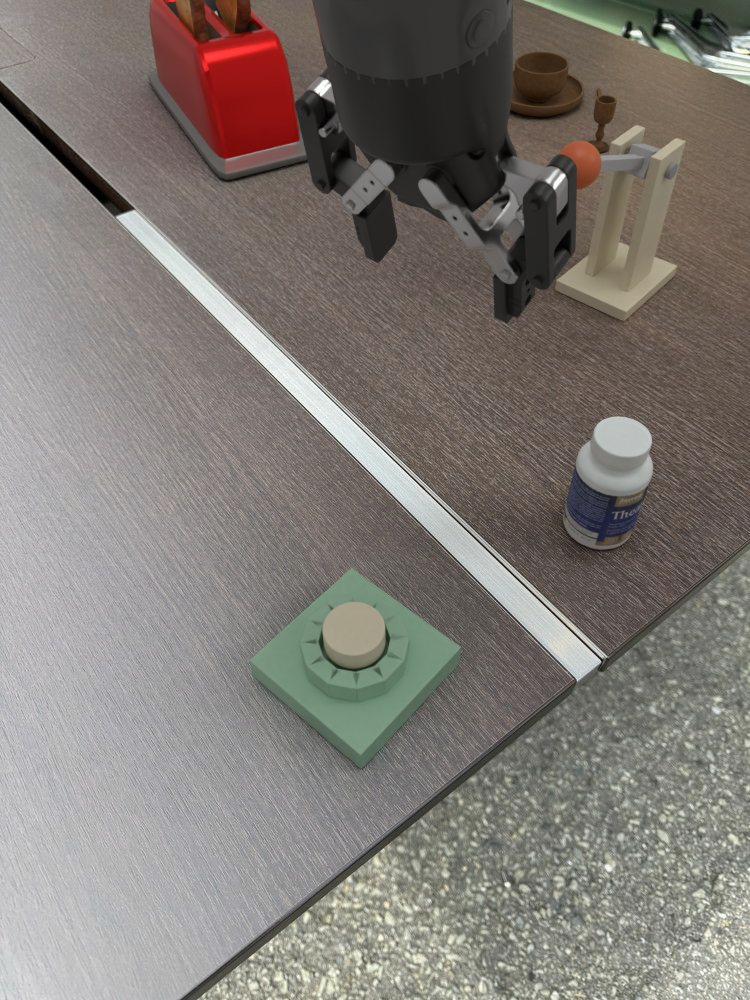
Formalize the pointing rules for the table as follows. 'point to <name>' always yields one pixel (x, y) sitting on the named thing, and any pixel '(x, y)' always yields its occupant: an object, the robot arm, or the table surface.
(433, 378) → the table surface
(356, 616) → the button
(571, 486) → the pill bottle
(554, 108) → the place setting
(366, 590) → the button block
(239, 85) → the toaster
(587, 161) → the lever
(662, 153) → the bracket
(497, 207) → the robot arm
